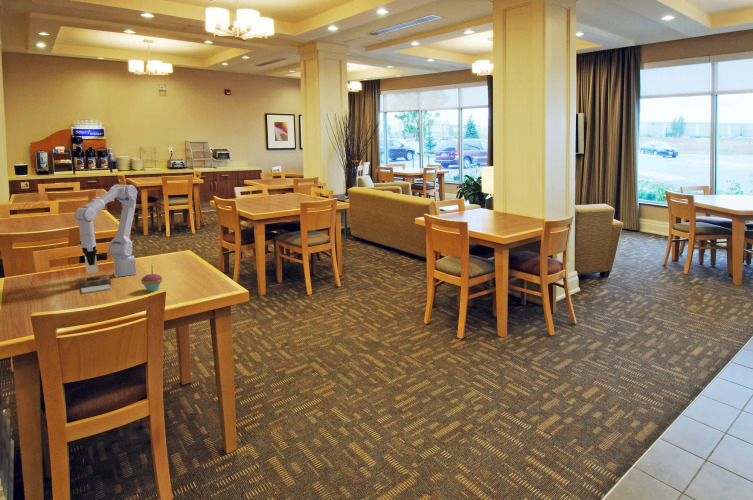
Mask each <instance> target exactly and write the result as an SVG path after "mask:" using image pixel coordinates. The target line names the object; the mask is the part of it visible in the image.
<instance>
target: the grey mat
mask: <svg viewBox="0 0 753 500" xmlns="http://www.w3.org/2000/svg"><path fill="white" fill-rule="evenodd" d="M80 290H81V294H90V293H96V292H103V291H110V290H111V287H110V285H109V284H107V285H101V286H94V287H87V288H81V289H80Z"/></svg>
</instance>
